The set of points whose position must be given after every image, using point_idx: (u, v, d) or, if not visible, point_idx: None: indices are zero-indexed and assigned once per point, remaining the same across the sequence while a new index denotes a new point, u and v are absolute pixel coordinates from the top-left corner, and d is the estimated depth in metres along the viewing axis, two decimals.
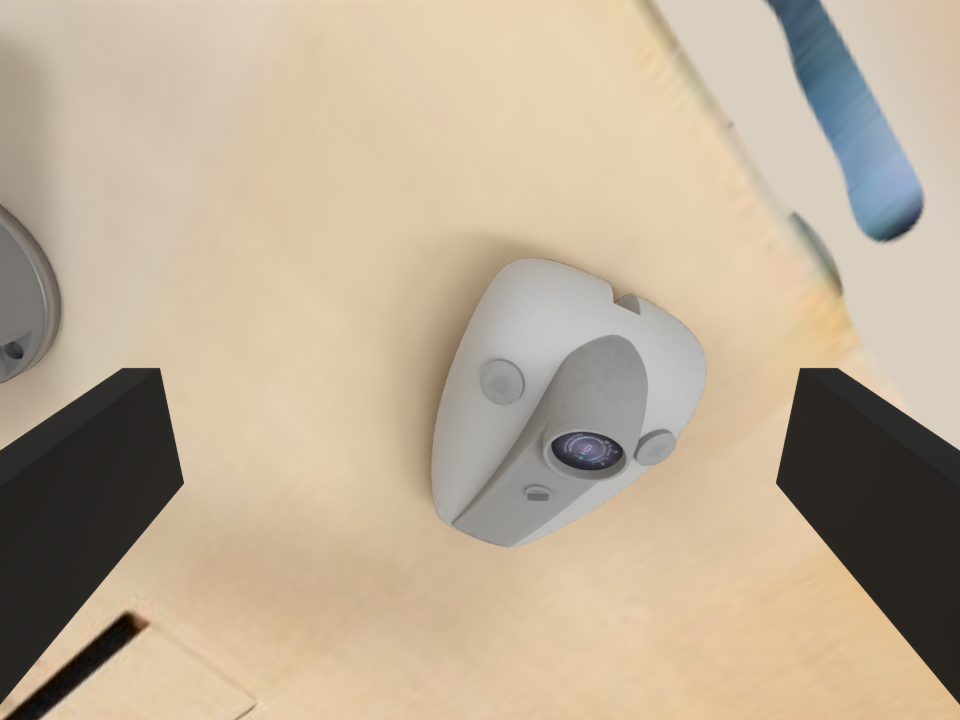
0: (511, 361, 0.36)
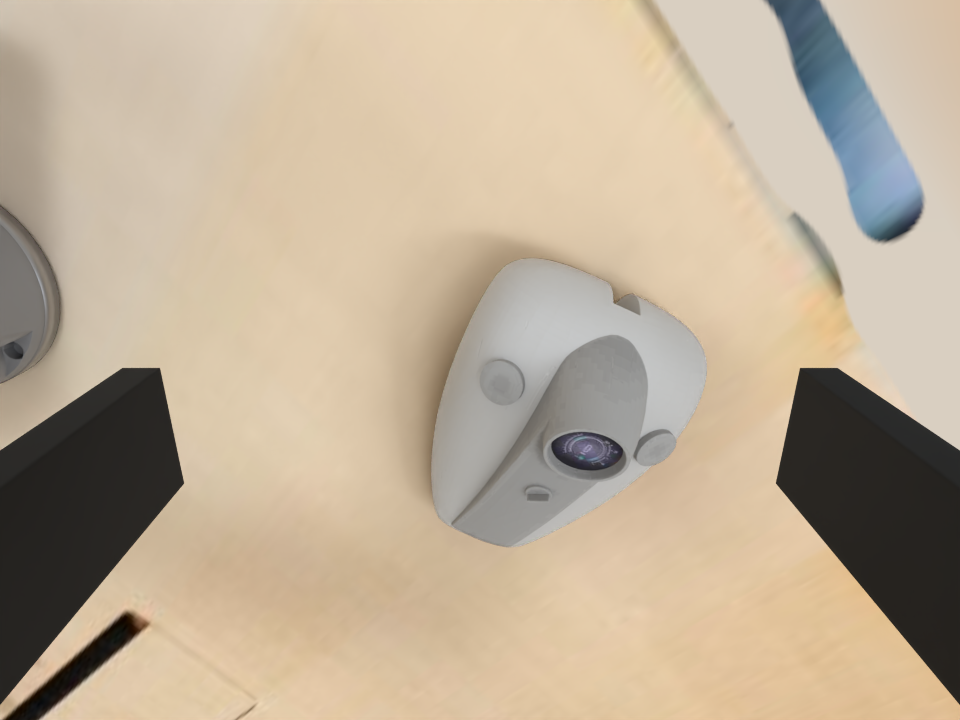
0: (511, 361, 0.36)
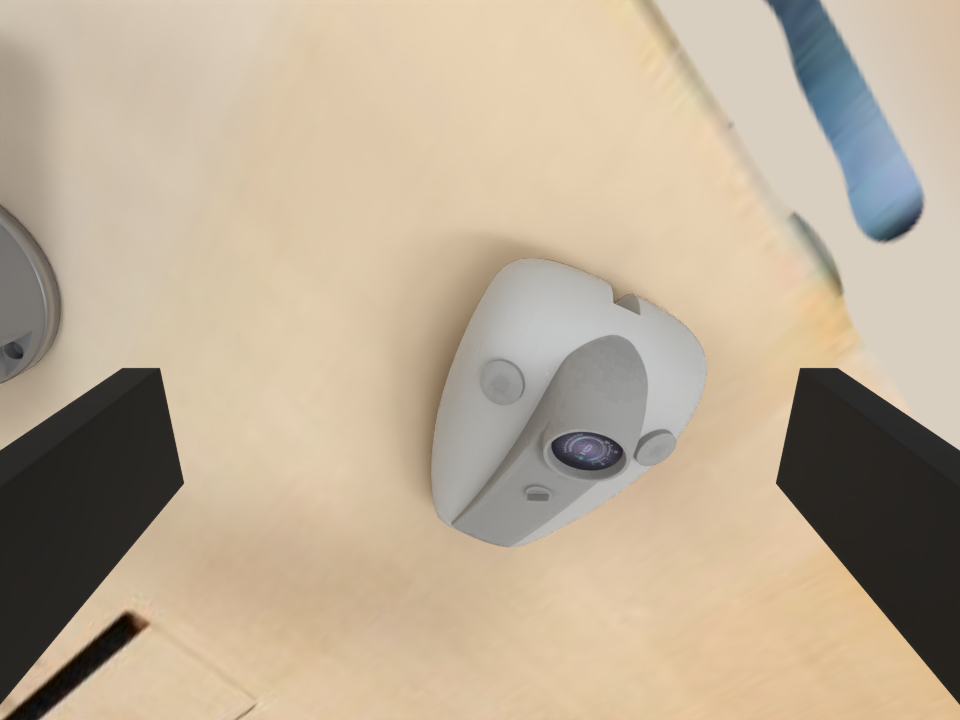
0: (511, 361, 0.36)
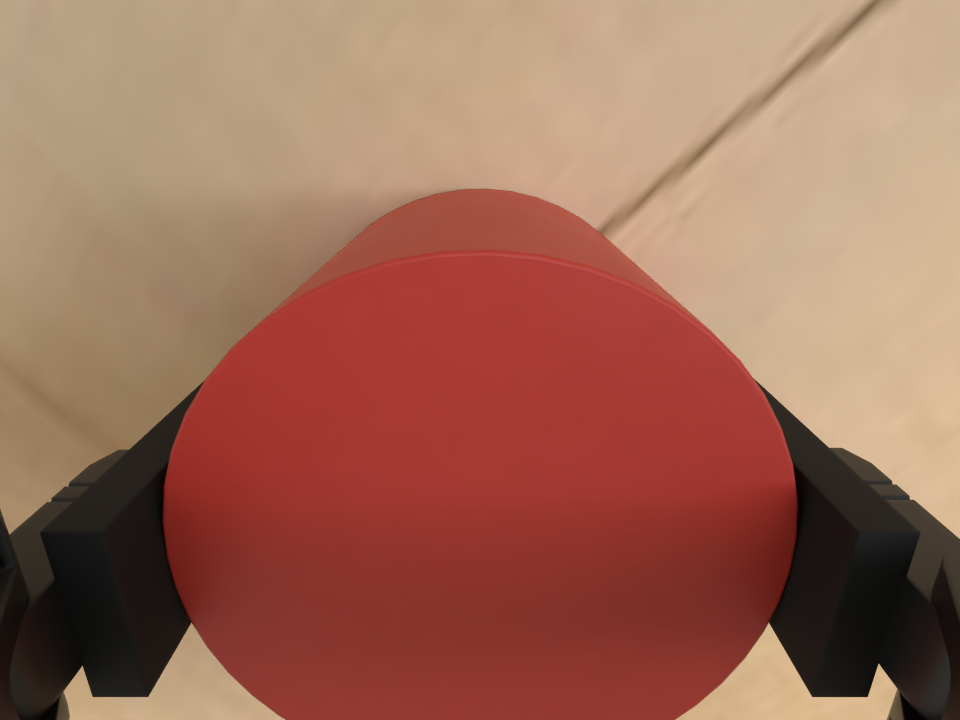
0: None
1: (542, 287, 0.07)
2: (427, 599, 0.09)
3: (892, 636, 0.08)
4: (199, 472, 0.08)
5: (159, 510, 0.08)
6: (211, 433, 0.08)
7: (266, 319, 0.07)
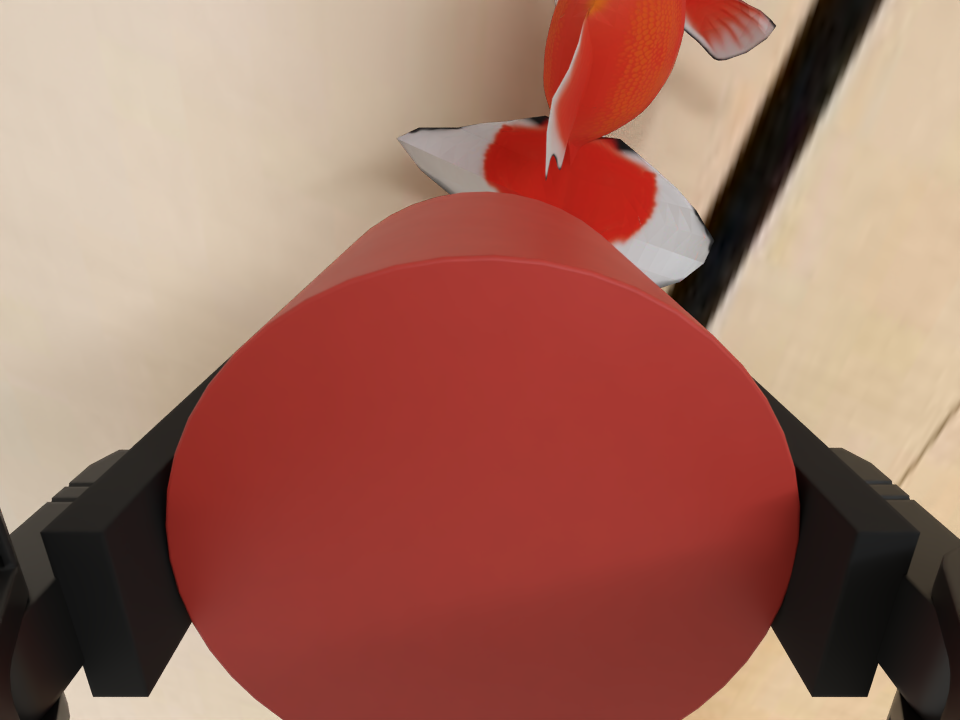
0: None
1: (545, 293, 0.07)
2: (430, 602, 0.09)
3: (892, 636, 0.08)
4: (202, 476, 0.08)
5: (159, 510, 0.08)
6: (214, 437, 0.08)
7: (269, 324, 0.07)
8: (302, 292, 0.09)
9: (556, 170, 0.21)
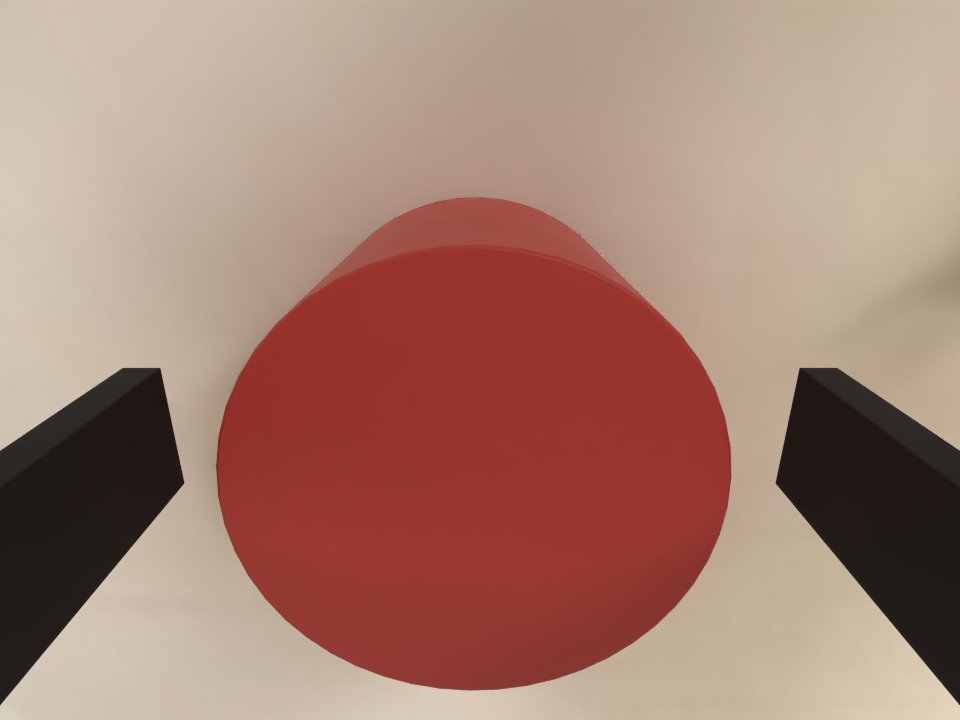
0: None
1: (522, 275, 0.09)
2: (431, 533, 0.11)
3: None
4: (247, 425, 0.10)
5: None
6: (258, 392, 0.10)
7: (305, 300, 0.09)
8: (327, 278, 0.11)
9: None
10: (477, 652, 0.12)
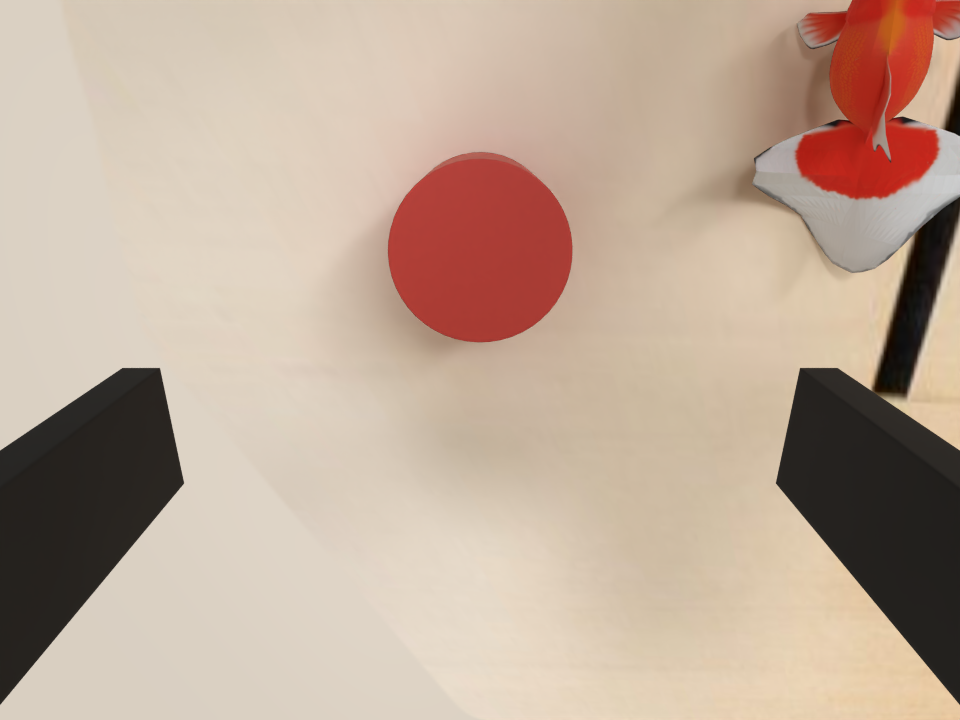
0: None
1: (496, 168, 0.28)
2: (464, 269, 0.30)
3: None
4: (401, 224, 0.29)
5: None
6: (406, 211, 0.29)
7: (424, 177, 0.28)
8: (427, 174, 0.29)
9: (852, 151, 0.31)
10: (481, 323, 0.31)
